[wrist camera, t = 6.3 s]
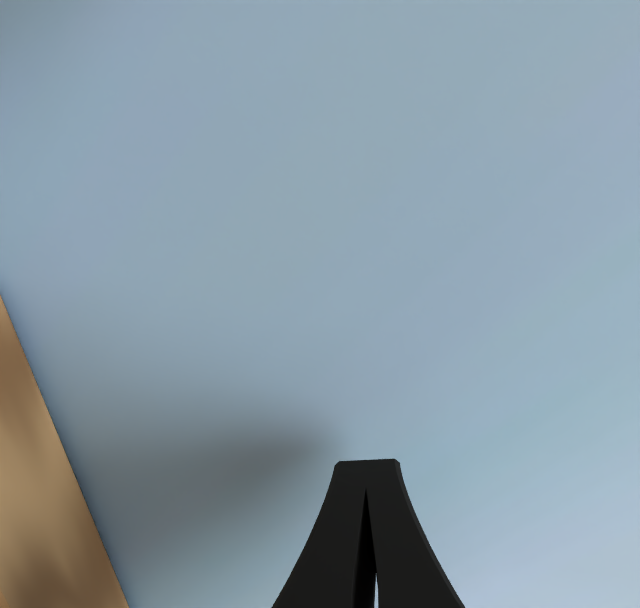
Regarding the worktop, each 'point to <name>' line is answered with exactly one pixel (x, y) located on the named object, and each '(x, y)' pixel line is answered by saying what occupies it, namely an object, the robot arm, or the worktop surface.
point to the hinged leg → (43, 503)
